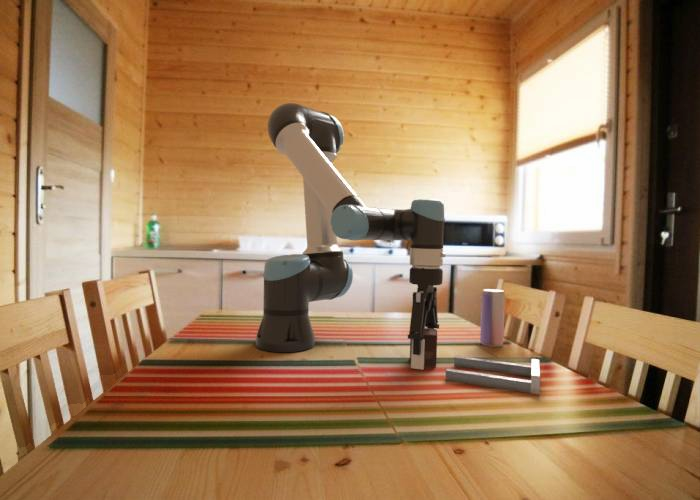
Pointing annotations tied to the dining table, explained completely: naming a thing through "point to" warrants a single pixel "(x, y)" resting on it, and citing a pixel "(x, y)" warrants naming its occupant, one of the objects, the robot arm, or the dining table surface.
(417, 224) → the robot arm
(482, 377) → the channel
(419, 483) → the dining table surface
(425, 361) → the box
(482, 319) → the beverage can
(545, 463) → the dining table surface
